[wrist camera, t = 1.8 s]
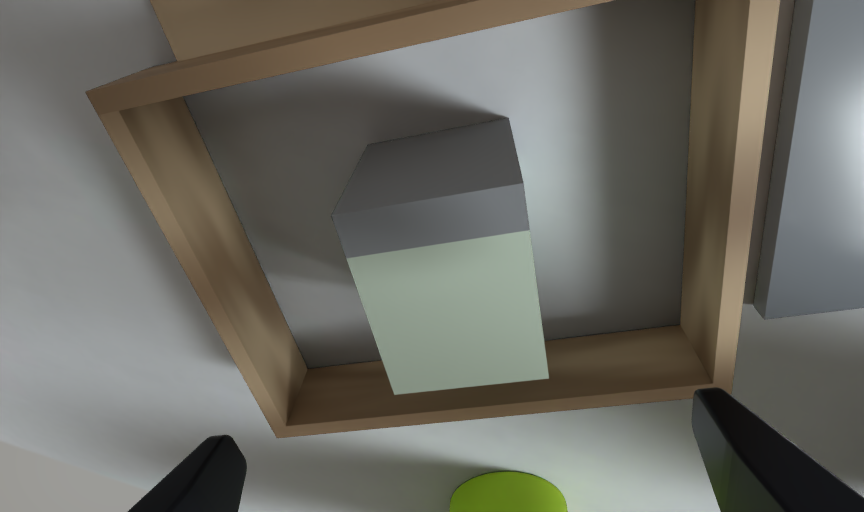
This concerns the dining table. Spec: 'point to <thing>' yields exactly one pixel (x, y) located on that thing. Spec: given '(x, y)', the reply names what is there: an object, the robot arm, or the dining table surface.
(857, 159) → the coaster
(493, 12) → the wooden frame
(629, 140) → the dining table surface
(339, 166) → the dining table surface
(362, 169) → the box
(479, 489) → the soap dispenser
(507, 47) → the dining table surface
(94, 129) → the dining table surface
